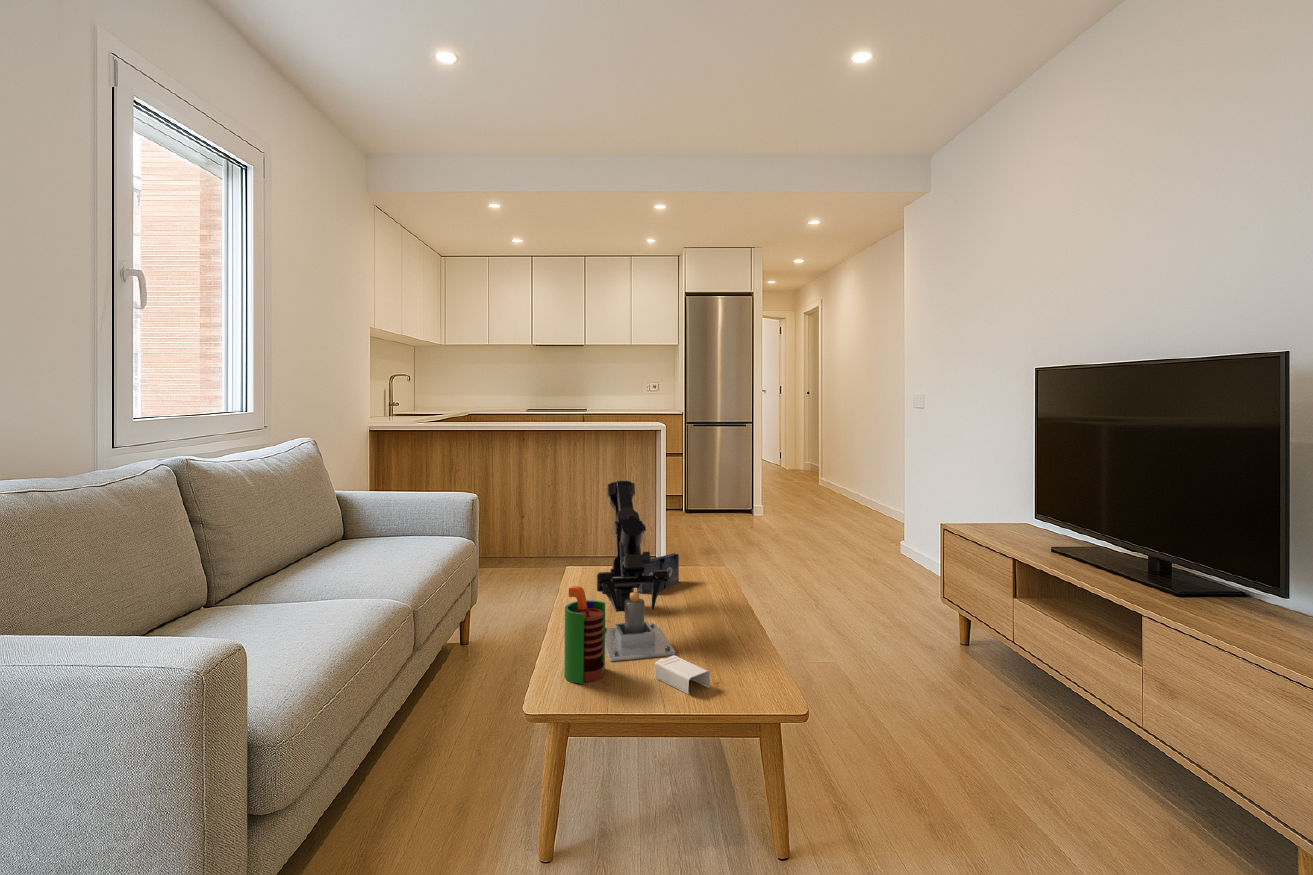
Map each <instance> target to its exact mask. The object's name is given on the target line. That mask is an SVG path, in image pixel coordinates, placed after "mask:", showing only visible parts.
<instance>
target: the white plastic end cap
mask: <svg viewBox="0 0 1313 875" xmlns="http://www.w3.org/2000/svg"><path fill="white" fill-rule="evenodd" d="M654 678H655V679H656V680H658V681H660V682H663V683H665V684H666V685H669V686H670V687H673V688H675V689H676V690H679V691H681V692H683V694H684V693H685V694H686V695H689V694H690V693H689V684H690V683H689V682H690V681H692V682H695V683H698V684H700V685H702V686H704V687H706V688H710V687H711V675H710V671H709V670H707V669H704V668H702V667H700V666H699V665H696V664H693V663H692V662H689V661H687V660H685V659H683V658H681V657H679V656H677V655H676V654H675V655H672V656H667V657H666V658H664V657H663V658H660V659H659V660H657V661H656V662H655V663H654ZM698 692H700V690H699V691H697V693H698ZM689 696H690V695H689Z"/></svg>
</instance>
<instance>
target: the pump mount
mask: <svg viewBox="0 0 1313 875" xmlns="http://www.w3.org/2000/svg"><path fill="white" fill-rule="evenodd" d="M605 653H606V654H607V657H608V659H609V662H620V661H629V660H639V659H650V658H651V659H652V658H660V657H671V656H673V655H675V656H676V651H675V649H674V648H673V646H672V645H671V643H670V641H669V640H668V639H667V638H666V637H665V635H664V633H663V632H662V630H661V629H660V627H659V626H658V625H657V624H656V623H655V624H654V623H649V622H648V621H644V632H642V633H630V634H625V622H622V623H615V624H614V627H608V628H607V627H605Z"/></svg>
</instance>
